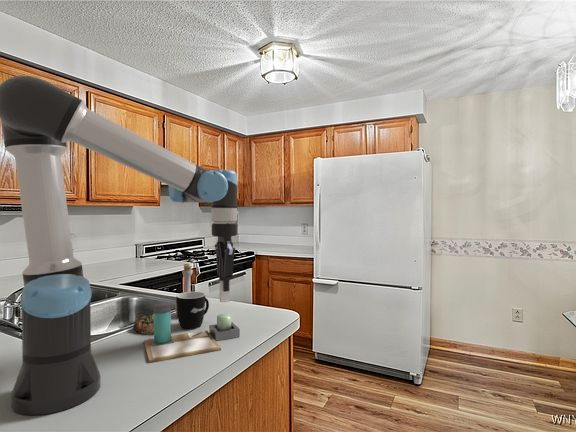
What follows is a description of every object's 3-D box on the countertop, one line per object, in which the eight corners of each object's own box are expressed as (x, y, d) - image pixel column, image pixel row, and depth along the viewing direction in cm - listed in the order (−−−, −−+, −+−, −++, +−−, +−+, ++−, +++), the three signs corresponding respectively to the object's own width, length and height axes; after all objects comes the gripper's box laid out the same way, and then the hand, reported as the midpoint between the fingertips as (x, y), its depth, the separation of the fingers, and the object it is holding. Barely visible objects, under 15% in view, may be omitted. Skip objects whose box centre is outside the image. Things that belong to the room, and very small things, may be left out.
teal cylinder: (154, 344, 96) (154, 308, 96) (153, 339, 100) (153, 304, 100) (172, 342, 98) (172, 306, 98) (169, 336, 102) (169, 302, 102)
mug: (189, 333, 108) (189, 300, 108) (170, 327, 113) (170, 295, 112) (217, 322, 118) (217, 292, 118) (198, 317, 123) (198, 288, 122)
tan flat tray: (149, 362, 87) (149, 359, 87) (143, 341, 100) (143, 339, 100) (221, 350, 95) (221, 347, 95) (207, 332, 109) (207, 329, 109)
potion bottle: (192, 309, 132) (192, 261, 132) (204, 315, 126) (204, 264, 125) (169, 314, 126) (169, 264, 126) (181, 320, 120) (181, 267, 119)
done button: (219, 332, 104) (219, 319, 103) (215, 328, 107) (215, 315, 107) (233, 330, 105) (233, 317, 105) (228, 326, 109) (228, 313, 109)
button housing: (215, 341, 102) (215, 332, 101) (209, 333, 108) (209, 325, 108) (239, 337, 105) (239, 329, 105) (232, 329, 111) (232, 321, 111)
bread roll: (128, 327, 113) (130, 311, 113) (162, 325, 119) (165, 310, 120) (137, 339, 104) (140, 321, 104) (174, 336, 111) (177, 320, 111)
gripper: (243, 223, 101) (244, 305, 102) (230, 221, 113) (230, 295, 114) (218, 223, 98) (218, 308, 99) (206, 221, 110) (207, 297, 110)
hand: (224, 301), depth 106 cm, fingers closed
